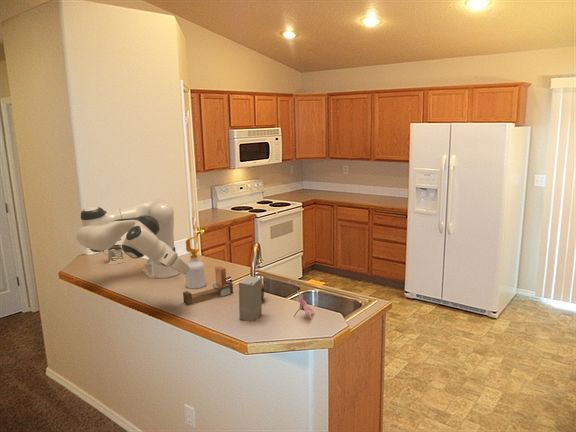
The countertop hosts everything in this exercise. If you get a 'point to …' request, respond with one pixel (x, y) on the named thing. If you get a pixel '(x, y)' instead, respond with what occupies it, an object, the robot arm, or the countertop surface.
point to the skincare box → (250, 298)
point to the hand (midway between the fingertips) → (185, 272)
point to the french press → (116, 249)
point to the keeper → (221, 281)
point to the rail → (203, 295)
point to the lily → (304, 306)
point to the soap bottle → (194, 269)
